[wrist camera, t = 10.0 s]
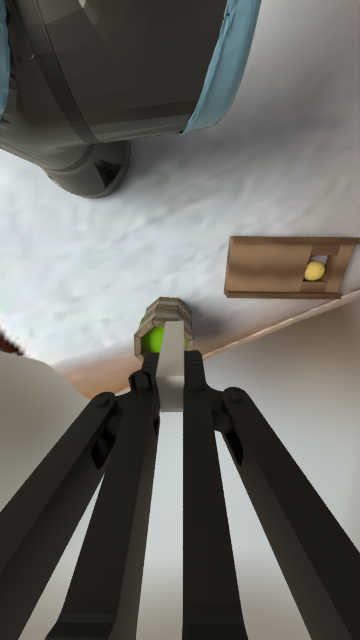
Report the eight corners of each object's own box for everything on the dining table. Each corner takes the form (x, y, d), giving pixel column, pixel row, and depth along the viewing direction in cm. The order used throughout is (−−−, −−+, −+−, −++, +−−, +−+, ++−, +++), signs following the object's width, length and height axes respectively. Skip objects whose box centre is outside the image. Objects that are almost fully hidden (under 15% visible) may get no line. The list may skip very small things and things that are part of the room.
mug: (156, 287, 40) (146, 307, 30) (200, 308, 42) (206, 335, 31) (130, 343, 46) (114, 378, 36) (170, 360, 48) (167, 397, 37)
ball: (300, 260, 38) (311, 262, 34) (319, 260, 38) (331, 262, 34) (296, 278, 39) (306, 282, 36) (314, 278, 39) (325, 282, 36)
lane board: (229, 236, 36) (234, 236, 33) (347, 237, 36) (363, 237, 33) (223, 292, 41) (227, 297, 37) (327, 293, 40) (340, 299, 37)
